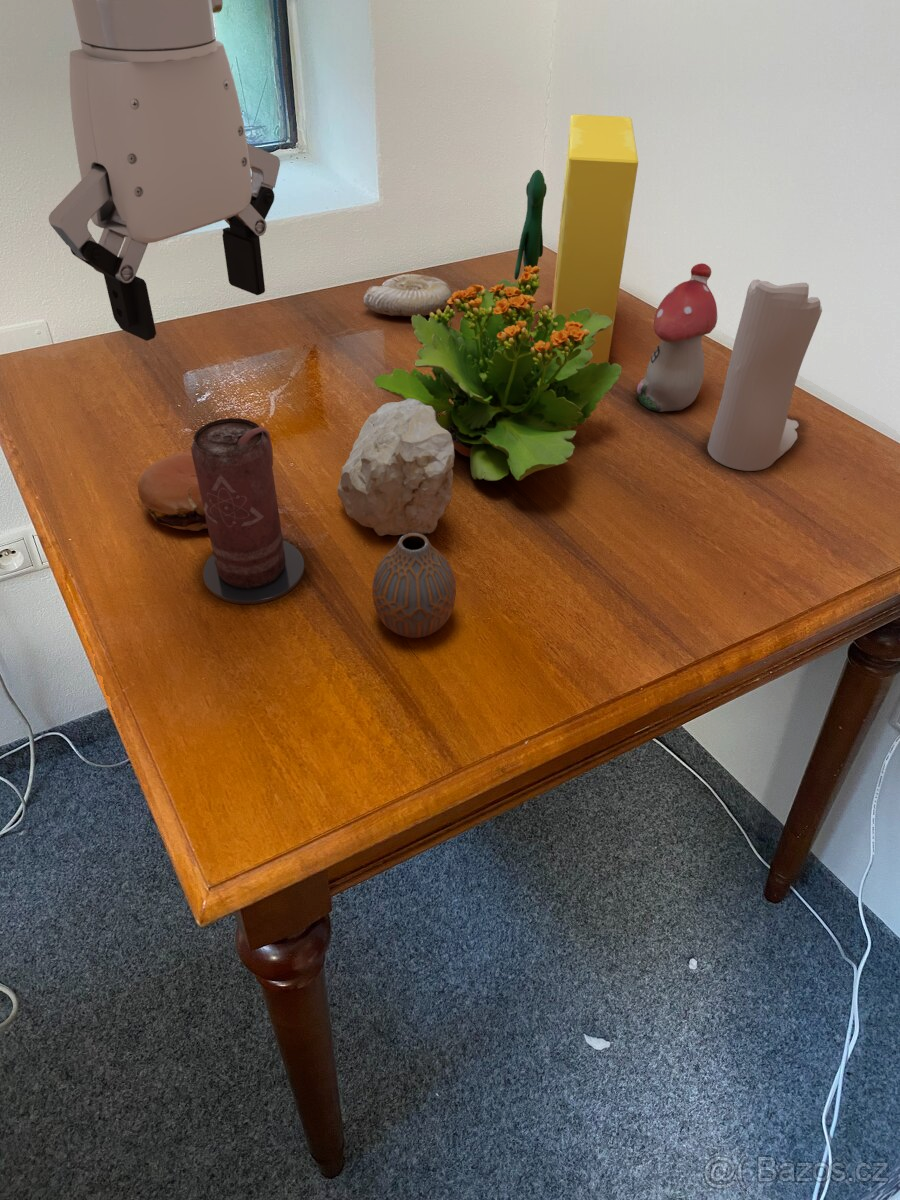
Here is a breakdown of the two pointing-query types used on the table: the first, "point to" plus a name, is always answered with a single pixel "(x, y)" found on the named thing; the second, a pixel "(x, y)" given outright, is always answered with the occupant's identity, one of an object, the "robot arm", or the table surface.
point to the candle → (763, 376)
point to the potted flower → (507, 377)
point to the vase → (414, 588)
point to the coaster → (260, 594)
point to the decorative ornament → (679, 344)
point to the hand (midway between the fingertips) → (195, 310)
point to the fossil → (408, 296)
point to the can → (239, 501)
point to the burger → (173, 492)
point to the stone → (399, 470)
